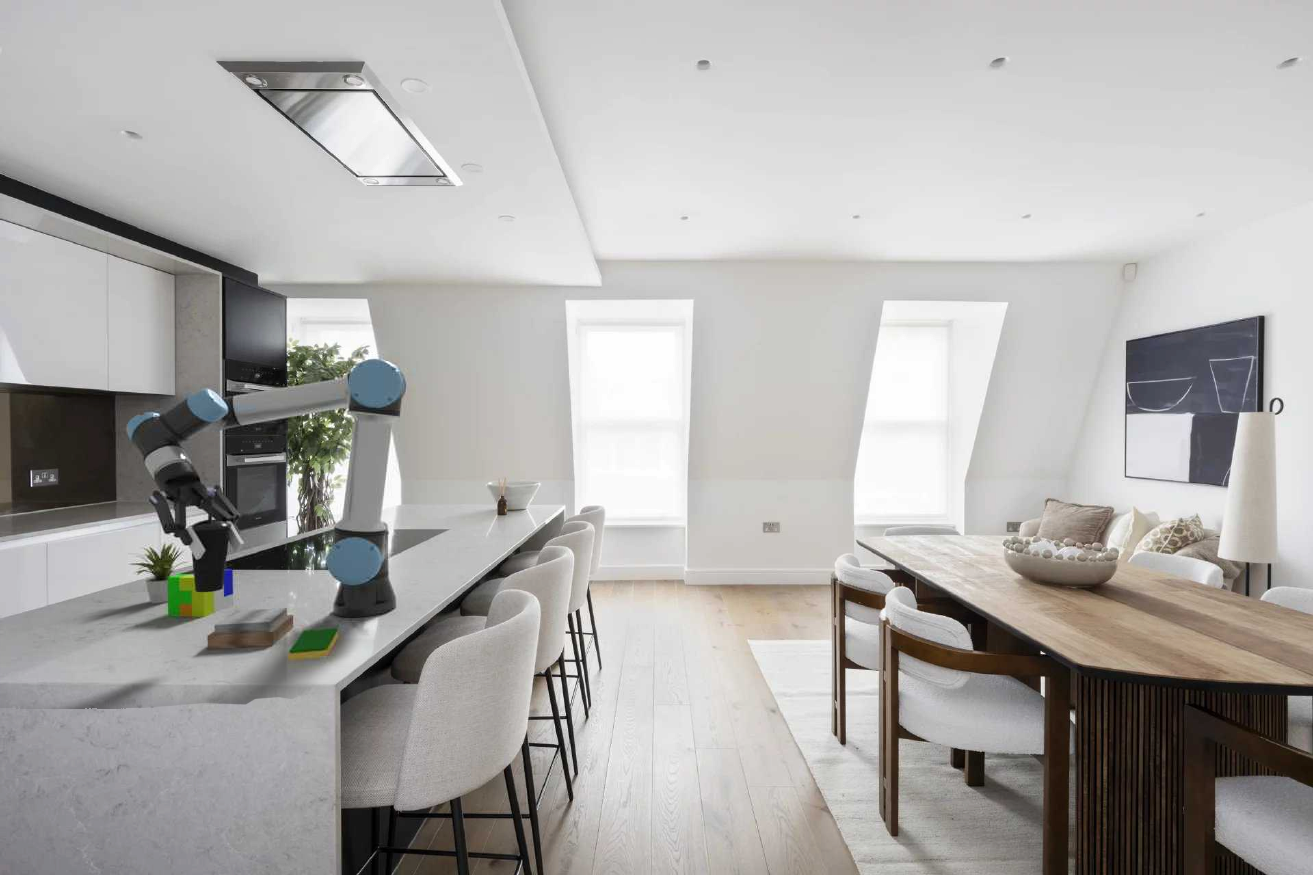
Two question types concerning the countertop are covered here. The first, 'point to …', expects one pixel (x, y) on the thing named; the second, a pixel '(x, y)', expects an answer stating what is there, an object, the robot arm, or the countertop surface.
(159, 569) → the house plant
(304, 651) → the dish sponge
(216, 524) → the drinking cup
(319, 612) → the countertop surface
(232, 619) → the two-layer plinth
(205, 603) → the puzzle toy
